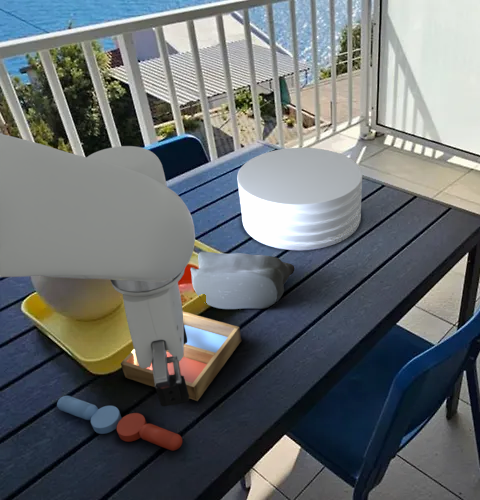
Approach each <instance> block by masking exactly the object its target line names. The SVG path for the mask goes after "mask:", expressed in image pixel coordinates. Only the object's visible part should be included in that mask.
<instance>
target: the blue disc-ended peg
mask: <svg viewBox="0 0 480 500" xmlns="http://www.w3.org/2000/svg"><path fill="white" fill-rule="evenodd" d="M56 407H57V409H58V410H59V411H61V412H64V413H67V414H69V415H72V416H75V417H77V418H79V419H83V420H86V421H90V424H91V427H92V428H93V431H94V432H96V434H100V435H103V434H109V433H111V432H113V431H115V430H117V424H118V422H119V421H120V420H121V419H122V415H121V412H120V410H119V408H118V407H116V406H115V405H105V406H102V407H100V408H99V407H98V406H97V405H96V404H93V403H91V402H87V401H85V400H83V399H80V398H76V397H74V396H71V395H62V396H61V397H59V398H58V400H57V402H56Z"/></svg>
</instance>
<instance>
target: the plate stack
mask: <svg viewBox="0 0 480 500" xmlns="http://www.w3.org/2000/svg"><path fill="white" fill-rule="evenodd" d="M236 175H237V177H236V179H237V181H236V182H237V186H238V196H239V203H240V212H241V221H242V225H243V228H244V231H245V232H246V233H247V234H248V235H249V236H250V237H251V238H252V239H254V240H256V241H257V242H259V243H261V244H263V245H266V246H268V247H272V248H275V249H279V250H288V251H312V250H317V249H318V250H319V249H323V248H327V247H330V246H333V245H337V244H338V243H341V242H343V241H344V240H346V239H348V238H349V237H351V236H352V235H353V234H354V233H355V232H356V230H357V229H358V228H359V226H360V224H361V218H362V217H361V216H362V191H363V171H362V168H361V167H360V166H359V164H358V163H357V162H356V161H354V160H353V159H352V158H350V157H348V156H347V155H344V154H342V153H339V152H337V151H333V150H328V149H324V148H315V147H289V148H282V149H281V148H280V149H275V150H271V151H267V152H264V153H260V154H259V155H256V156H254V157H252V158H250V159H249V160H247V161H246V162H245V163H244V164H243V165H242V166H241V167H240V168H239V170H238V172H237V174H236Z"/></svg>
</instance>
